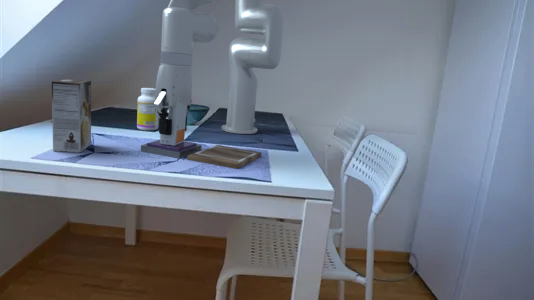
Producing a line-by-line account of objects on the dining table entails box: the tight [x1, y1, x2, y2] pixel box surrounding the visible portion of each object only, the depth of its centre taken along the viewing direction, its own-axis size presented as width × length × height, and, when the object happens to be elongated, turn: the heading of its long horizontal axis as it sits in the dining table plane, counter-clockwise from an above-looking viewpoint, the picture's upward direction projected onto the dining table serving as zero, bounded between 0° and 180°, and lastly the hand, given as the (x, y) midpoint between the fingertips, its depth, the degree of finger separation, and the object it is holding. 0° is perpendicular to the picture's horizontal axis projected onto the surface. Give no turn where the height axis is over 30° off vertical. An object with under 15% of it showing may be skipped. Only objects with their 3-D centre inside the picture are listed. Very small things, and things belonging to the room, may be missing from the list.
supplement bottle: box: [136, 87, 160, 131], centre depth 129 cm, size 7×7×13 cm
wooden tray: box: [187, 144, 263, 170], centre depth 103 cm, size 16×13×1 cm
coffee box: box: [51, 78, 92, 153], centre depth 97 cm, size 9×6×16 cm
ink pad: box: [140, 139, 203, 159], centre depth 105 cm, size 11×11×2 cm
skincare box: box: [159, 98, 186, 146], centre depth 103 cm, size 6×4×12 cm
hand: (173, 131), depth 104 cm, fingers closed on skincare box, 6 cm apart
